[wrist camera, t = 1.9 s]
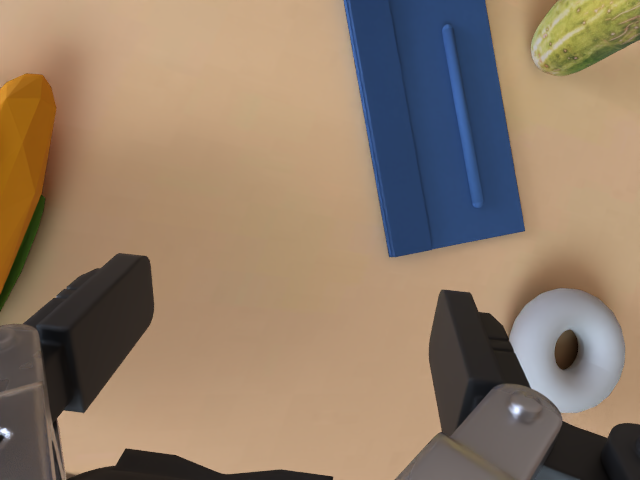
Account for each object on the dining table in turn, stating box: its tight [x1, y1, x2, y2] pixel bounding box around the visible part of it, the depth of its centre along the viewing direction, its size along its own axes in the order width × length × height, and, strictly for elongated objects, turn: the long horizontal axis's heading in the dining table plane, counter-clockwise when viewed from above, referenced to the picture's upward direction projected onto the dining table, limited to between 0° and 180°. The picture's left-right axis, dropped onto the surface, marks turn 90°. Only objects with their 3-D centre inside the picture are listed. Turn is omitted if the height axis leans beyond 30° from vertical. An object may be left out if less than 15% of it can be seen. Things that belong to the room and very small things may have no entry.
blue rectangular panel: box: [344, 0, 525, 257], centre depth 37 cm, size 22×12×1 cm, turn 10°
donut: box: [509, 288, 625, 413], centre depth 38 cm, size 10×4×10 cm
